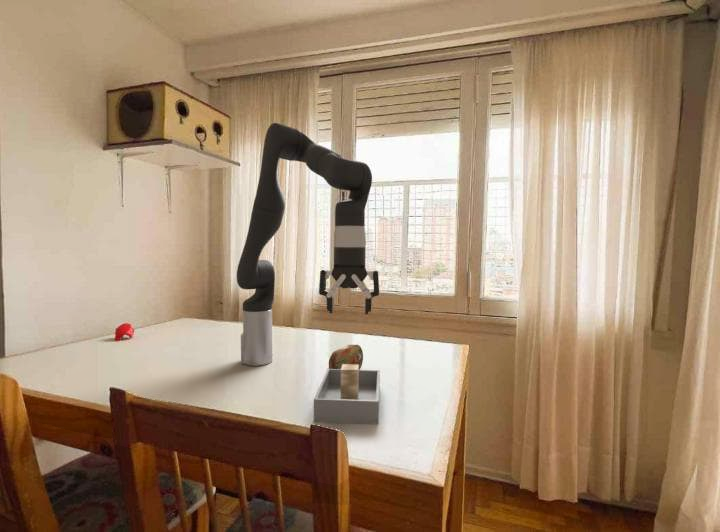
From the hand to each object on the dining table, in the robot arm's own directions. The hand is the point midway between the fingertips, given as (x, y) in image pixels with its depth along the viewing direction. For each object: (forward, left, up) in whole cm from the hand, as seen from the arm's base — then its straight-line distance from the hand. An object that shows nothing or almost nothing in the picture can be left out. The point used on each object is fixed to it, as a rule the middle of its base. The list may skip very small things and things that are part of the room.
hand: (349, 313), depth 90 cm
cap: (-97, +55, -22) cm, 113 cm away
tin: (-3, +20, -22) cm, 30 cm away
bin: (0, 0, -22) cm, 22 cm away
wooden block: (0, 0, -21) cm, 21 cm away
